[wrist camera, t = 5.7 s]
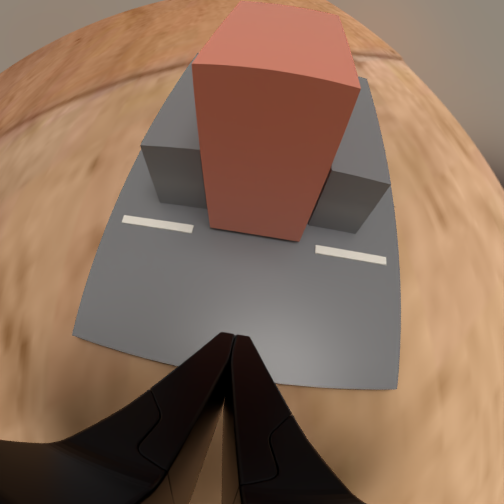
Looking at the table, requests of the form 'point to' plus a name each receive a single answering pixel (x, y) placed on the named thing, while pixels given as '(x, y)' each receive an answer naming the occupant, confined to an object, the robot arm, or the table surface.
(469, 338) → the table surface
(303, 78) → the plug
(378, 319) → the socket dock
